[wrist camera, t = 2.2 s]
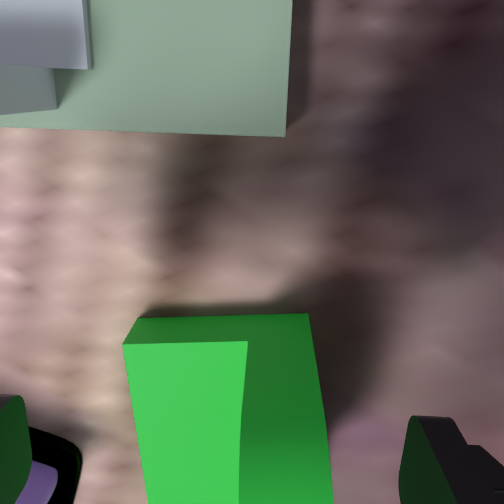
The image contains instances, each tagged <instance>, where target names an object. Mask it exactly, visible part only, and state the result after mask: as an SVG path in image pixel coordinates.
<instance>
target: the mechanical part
mask: <svg viewBox="0 0 504 504" xmlns="http://www.w3.org/2000/svg"><path fill="white" fill-rule="evenodd" d="M122 346H123V352H124V358H125V364H126V370H127V376H128V383H129V389H130V395H131V401H132V407H133V413H134V419H135V425H136V431H137V437H138V444H139V450H140V456H141V462H142V468H143V474H144V480H145V486H146V492H147V499H148V504H333V491H332V479H331V467H330V457H329V447H328V438H327V429H326V421H325V414H324V407H323V401H322V395H321V389H320V383H319V377H318V370H317V364H316V358H315V352H314V346H313V340H312V334H311V327H310V321H309V315H308V313H297V314H262V315H228V316H194V317H160V318H137V320H136V322H135V323H134V325H133V327H132V329H131V330H130V332H129V334H128V335H127V337H126V339H125V341H124V342H123V344H122Z"/></svg>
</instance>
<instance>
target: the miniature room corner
mask: <svg viewBox="0 0 504 504" xmlns="http://www.w3.org/2000/svg"><path fill="white" fill-rule="evenodd" d="M28 430H29V437H30V443H31V450H32V465H31V470H30V474H29V477H28V480H27V483H26V485H25V487H24V489H23V490H22V492H21V494H20V495H19V497H18V499H17V500H16V502H15V504H72V503H73V499H74V495H75V491H76V488H77V484H78V479H79V475H80V470H81V463H82V459H81V453H80V451H79V449H78V448H77V447H76V446H75V445H74V444H73V443H71V442H69V441H68V440H66V439H63V438H61V437H58V436H56V435H53V434H50V433H47V432H44V431H41V430H38V429H35V428H32V427H29V426H28Z"/></svg>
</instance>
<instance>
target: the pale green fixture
mask: <svg viewBox="0 0 504 504" xmlns="http://www.w3.org/2000/svg"><path fill="white" fill-rule="evenodd" d="M291 19H292V0H0V127H15V128H43V129H71V130H99V131H127V132H155V133H183V134H212V135H240V136H268V137H285V132H286V114H287V95H288V76H289V57H290V38H291Z"/></svg>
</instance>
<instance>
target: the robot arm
mask: <svg viewBox="0 0 504 504" xmlns="http://www.w3.org/2000/svg"><path fill="white" fill-rule="evenodd" d="M31 465H32V450H31V443H30V437H29V430H28V423H27V416H26V409H25V403H24V400H23V398H22V397H21V396H19V395H5V394H0V504H15V502H16V500H17V499H18V497H19V495H20V494H21V492H22V490H23V489H24V487H25V485H26V483H27V480H28V477H29V474H30V470H31ZM399 496H400V502H401V504H504V466H503V465H502V464H500V463H499V462H498V461H497V460H496V459H495V458H494V457H492V456H491V455H490V454H489V453H488V452H487V451H486V450H485V449H483V448H482V447H481V446H480V445H468V444H467V443H466V441H465V439H464V437H463V436H462V434H461V432H460V430H459V429H458V427H457V425H456V423H455V422H454V420H453V419H452V418H450V417H435V416H414V415H413V416H411V418H410V420H409V423H408V427H407V433H406V438H405V444H404V449H403V455H402V460H401V465H400V471H399Z"/></svg>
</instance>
